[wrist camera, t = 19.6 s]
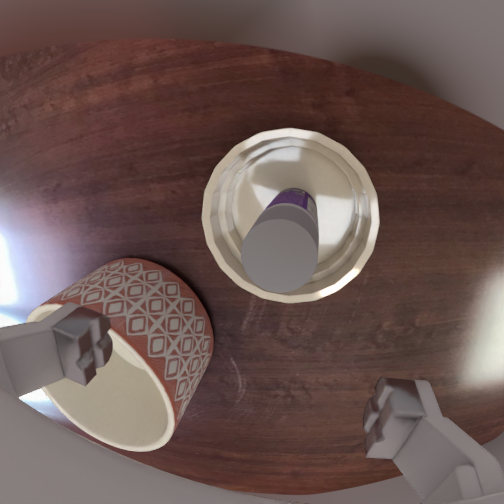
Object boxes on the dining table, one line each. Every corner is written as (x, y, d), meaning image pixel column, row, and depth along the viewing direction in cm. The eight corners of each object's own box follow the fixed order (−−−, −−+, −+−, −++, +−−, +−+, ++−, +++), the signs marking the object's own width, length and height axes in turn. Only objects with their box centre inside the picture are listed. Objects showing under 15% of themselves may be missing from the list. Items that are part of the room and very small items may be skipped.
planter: (181, 398, 44) (142, 470, 31) (80, 326, 44) (20, 377, 30) (245, 312, 38) (208, 395, 24) (116, 224, 38) (32, 263, 24)
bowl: (230, 123, 32) (213, 118, 26) (380, 149, 30) (394, 148, 24) (213, 263, 37) (195, 284, 31) (349, 290, 35) (355, 316, 29)
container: (262, 217, 33) (224, 268, 19) (286, 178, 32) (264, 200, 17) (301, 241, 33) (291, 308, 19) (326, 203, 32) (336, 245, 17)
